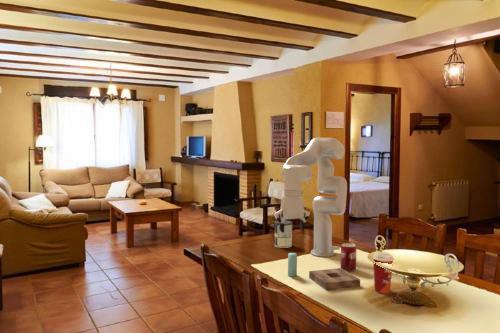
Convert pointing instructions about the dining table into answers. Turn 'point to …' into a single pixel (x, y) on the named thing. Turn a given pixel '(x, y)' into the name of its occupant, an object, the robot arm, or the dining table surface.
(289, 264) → the peg
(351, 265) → the soda can
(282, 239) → the coffee can
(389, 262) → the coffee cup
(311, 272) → the socket board
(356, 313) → the dining table surface
